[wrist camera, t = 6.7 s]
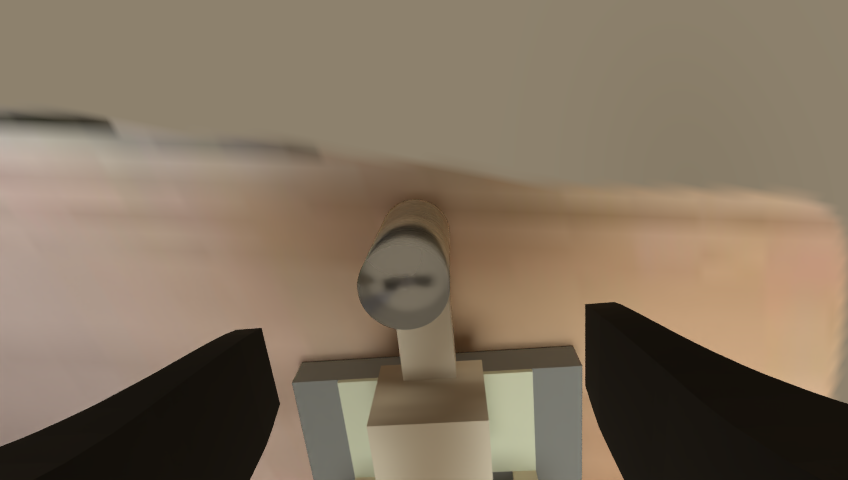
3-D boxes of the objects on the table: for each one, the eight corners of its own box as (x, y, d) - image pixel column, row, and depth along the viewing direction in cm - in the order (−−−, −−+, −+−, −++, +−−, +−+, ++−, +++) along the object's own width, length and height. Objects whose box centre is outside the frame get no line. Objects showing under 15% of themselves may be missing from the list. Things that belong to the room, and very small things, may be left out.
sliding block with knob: (393, 446, 20) (376, 559, 15) (356, 203, 17) (320, 251, 12) (487, 442, 20) (499, 556, 15) (469, 193, 16) (477, 238, 12)
